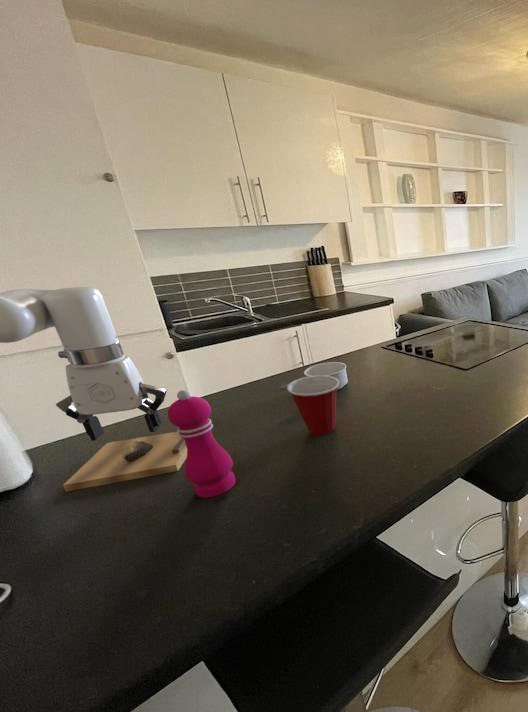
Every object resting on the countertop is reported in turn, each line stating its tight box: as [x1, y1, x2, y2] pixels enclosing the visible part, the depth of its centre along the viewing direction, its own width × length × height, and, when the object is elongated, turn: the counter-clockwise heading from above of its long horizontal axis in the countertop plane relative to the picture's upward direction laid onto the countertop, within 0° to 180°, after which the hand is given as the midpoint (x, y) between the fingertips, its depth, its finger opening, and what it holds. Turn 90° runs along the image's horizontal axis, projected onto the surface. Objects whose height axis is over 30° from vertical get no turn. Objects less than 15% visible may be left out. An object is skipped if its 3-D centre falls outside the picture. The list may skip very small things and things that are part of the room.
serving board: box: [62, 431, 187, 493], centre depth 86 cm, size 18×16×2 cm
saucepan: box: [279, 361, 349, 391], centre depth 115 cm, size 12×20×6 cm, turn 152°
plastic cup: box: [287, 375, 340, 437], centre depth 94 cm, size 11×11×12 cm
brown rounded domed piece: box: [122, 441, 153, 462], centre depth 85 cm, size 6×5×3 cm
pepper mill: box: [167, 389, 236, 499], centre depth 73 cm, size 7×7×20 cm
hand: (127, 433), depth 84 cm, fingers open, 9 cm apart
